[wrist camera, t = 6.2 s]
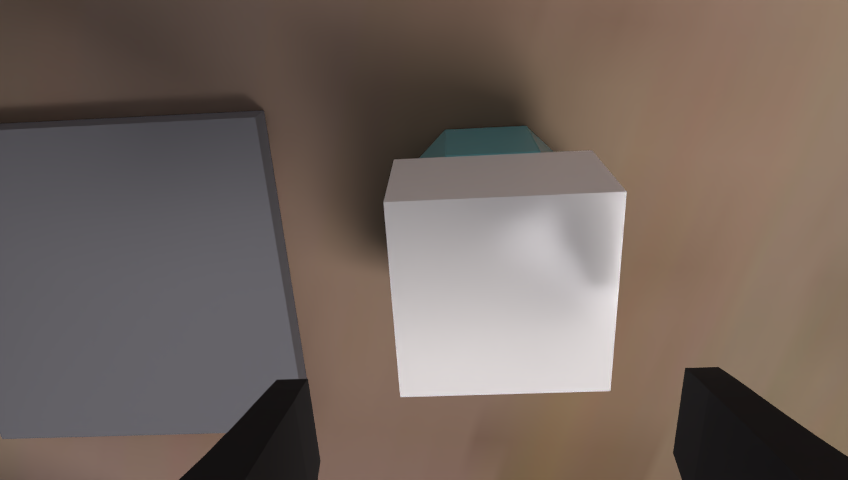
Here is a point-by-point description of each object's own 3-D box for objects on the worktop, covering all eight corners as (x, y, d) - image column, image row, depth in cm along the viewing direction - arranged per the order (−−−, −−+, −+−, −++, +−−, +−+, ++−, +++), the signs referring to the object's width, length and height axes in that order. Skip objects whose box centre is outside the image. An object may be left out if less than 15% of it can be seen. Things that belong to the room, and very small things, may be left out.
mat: (312, 413, 24) (307, 430, 23) (18, 421, 25) (2, 438, 24) (263, 110, 19) (255, 117, 19) (-100, 128, 20) (-126, 136, 19)
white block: (581, 321, 19) (610, 390, 16) (406, 327, 19) (400, 397, 16) (591, 150, 17) (626, 191, 14) (393, 159, 17) (383, 202, 14)
